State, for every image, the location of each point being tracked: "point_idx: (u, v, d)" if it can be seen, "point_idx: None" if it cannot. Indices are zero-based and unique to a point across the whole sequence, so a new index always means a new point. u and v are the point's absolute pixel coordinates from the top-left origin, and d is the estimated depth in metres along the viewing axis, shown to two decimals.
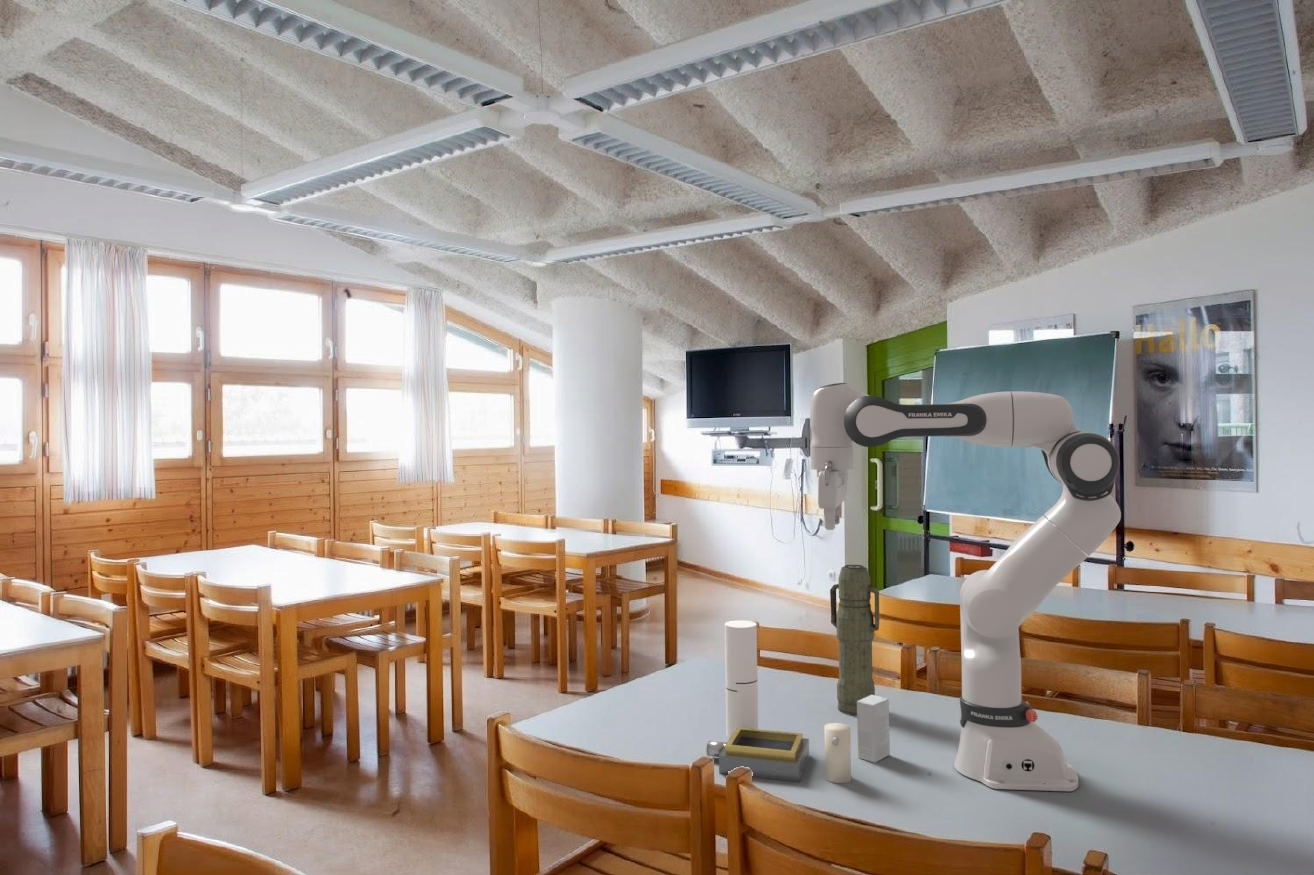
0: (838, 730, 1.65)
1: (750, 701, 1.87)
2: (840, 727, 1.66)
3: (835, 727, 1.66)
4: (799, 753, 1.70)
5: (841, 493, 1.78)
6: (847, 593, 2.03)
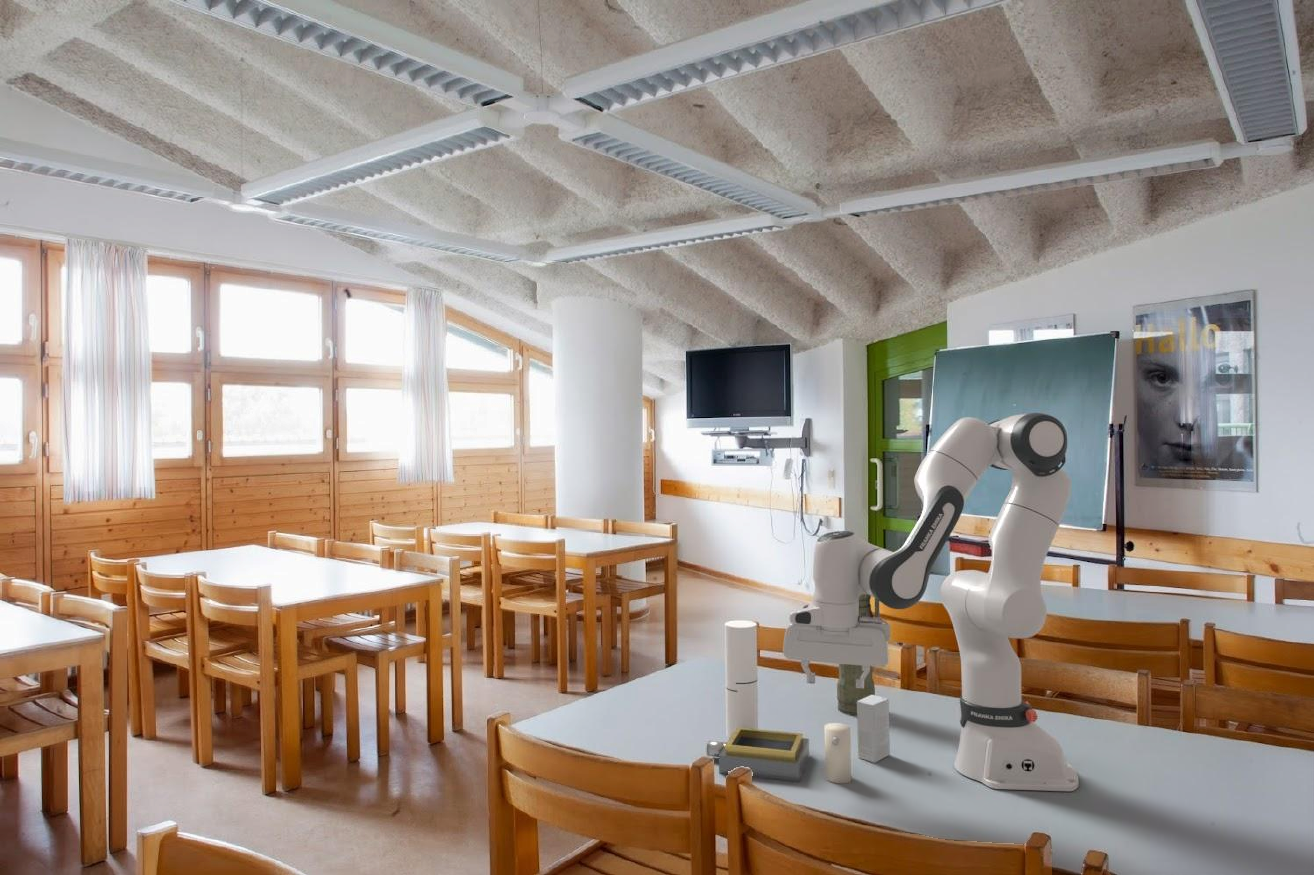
0: (838, 730, 1.65)
1: (750, 701, 1.87)
2: (840, 727, 1.66)
3: (835, 727, 1.66)
4: (799, 753, 1.70)
5: None
6: None
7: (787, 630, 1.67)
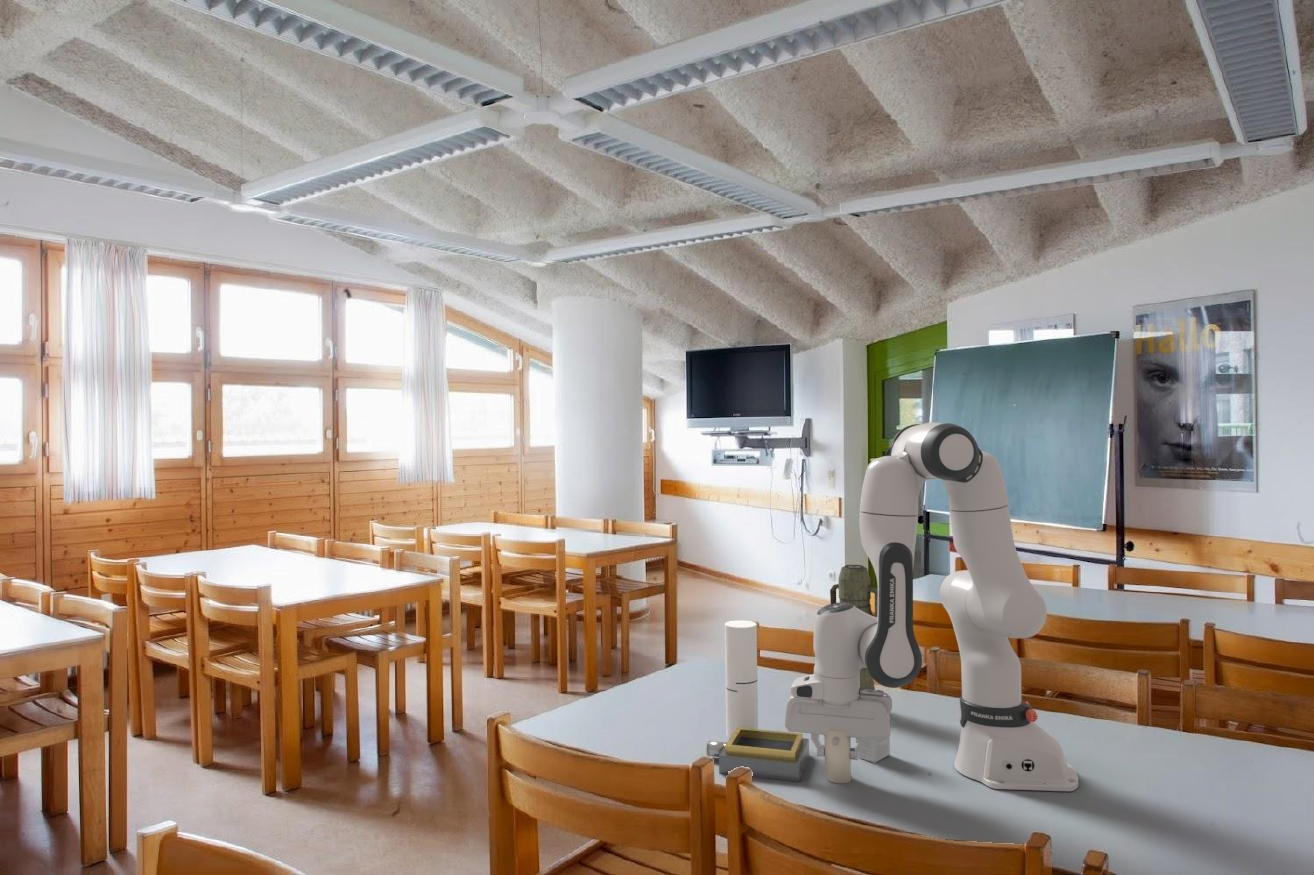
0: None
1: (750, 701, 1.87)
2: None
3: None
4: (799, 753, 1.70)
5: None
6: (847, 593, 2.03)
7: (788, 703, 1.67)
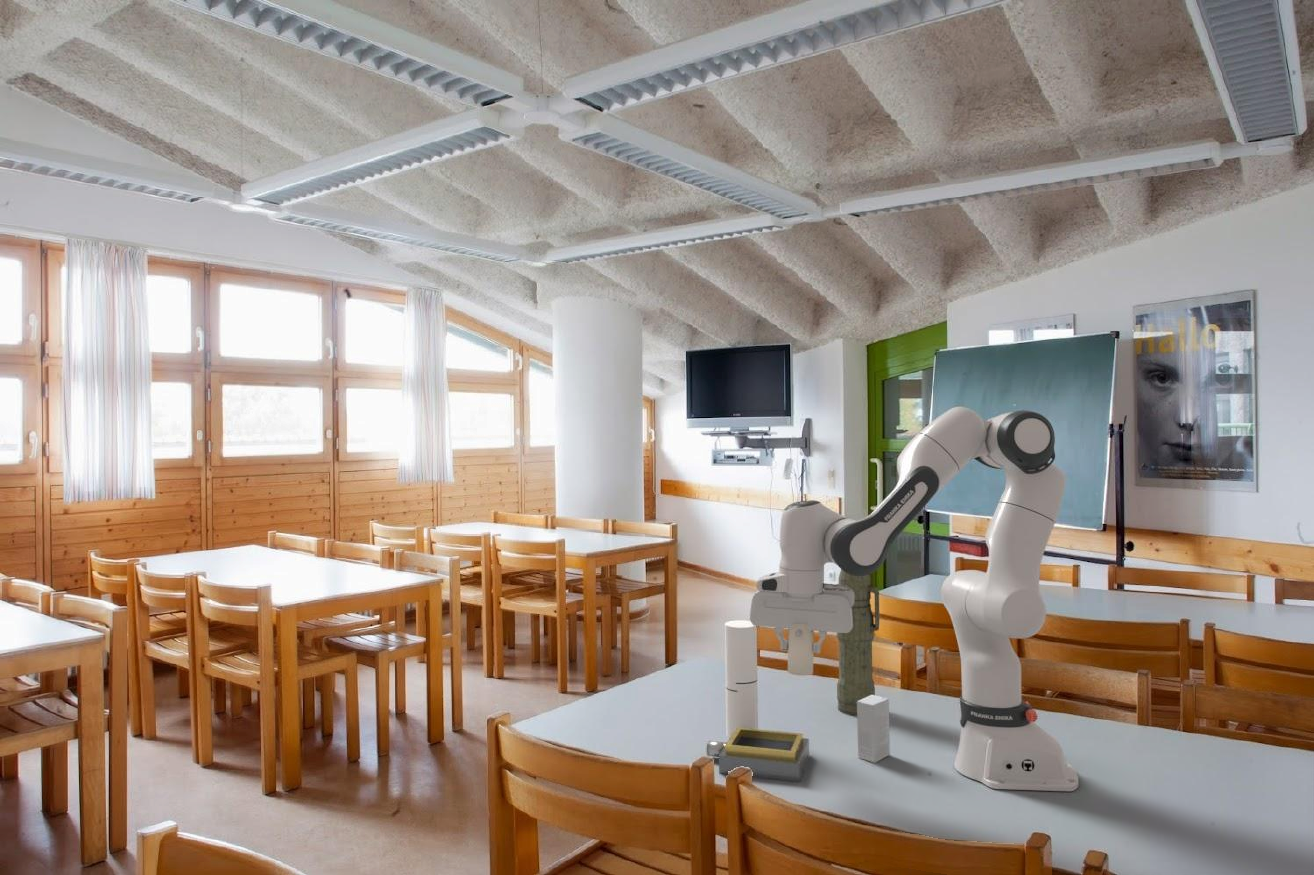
0: None
1: (750, 701, 1.87)
2: None
3: None
4: (799, 753, 1.70)
5: None
6: None
7: (754, 597, 1.70)
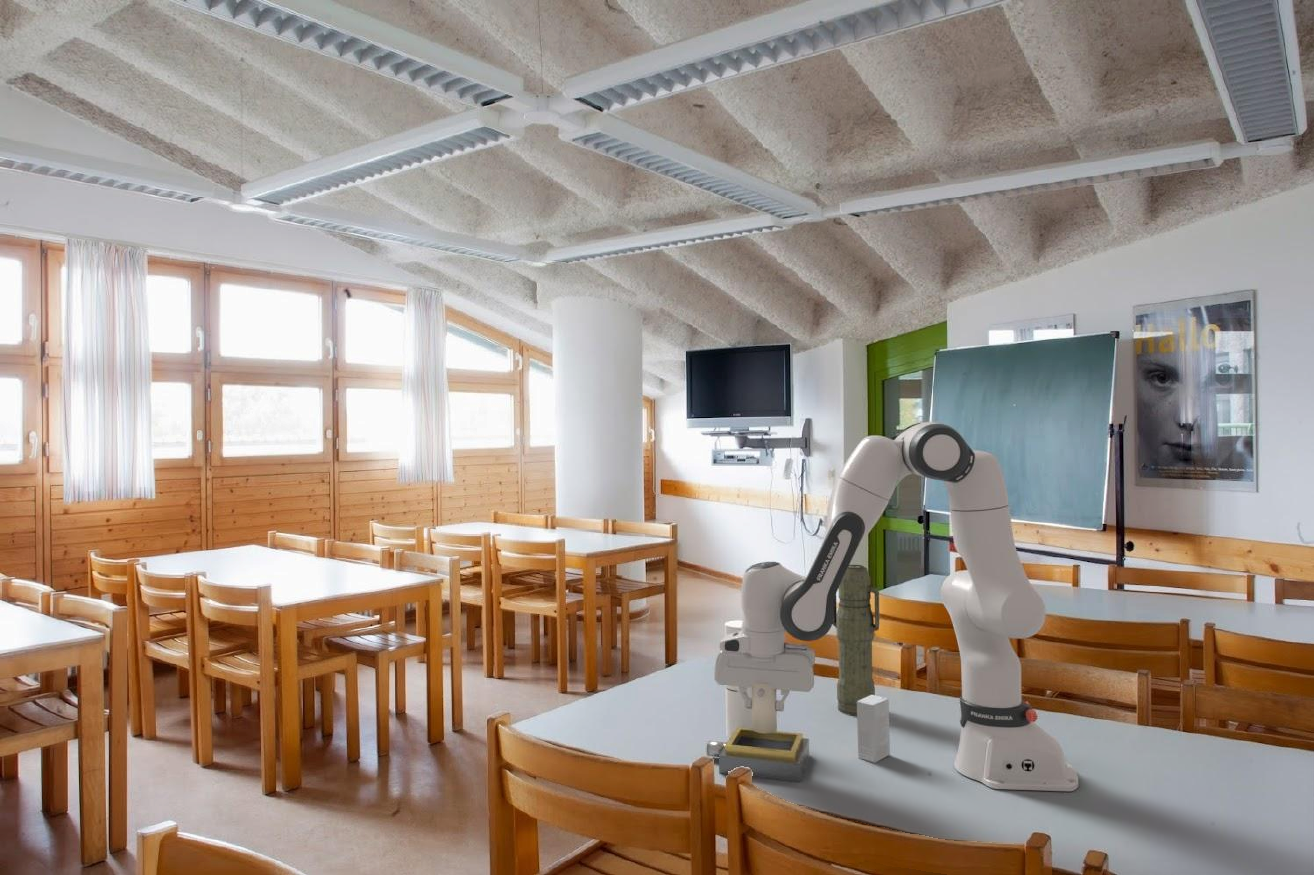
0: None
1: None
2: None
3: None
4: (799, 753, 1.70)
5: None
6: (847, 593, 2.03)
7: (717, 657, 1.74)
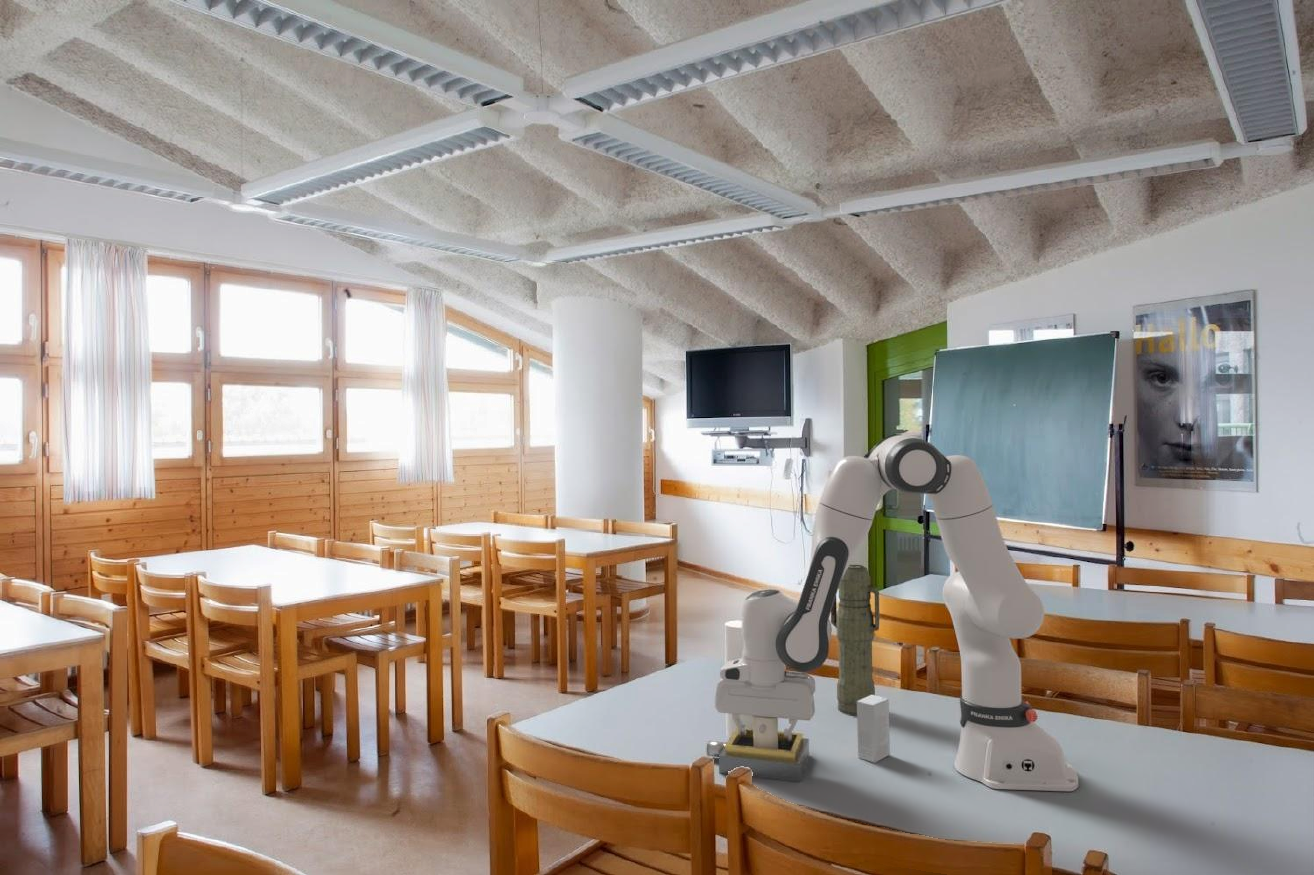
0: (765, 718, 1.72)
1: None
2: None
3: None
4: (799, 753, 1.70)
5: None
6: (847, 593, 2.03)
7: (718, 685, 1.74)
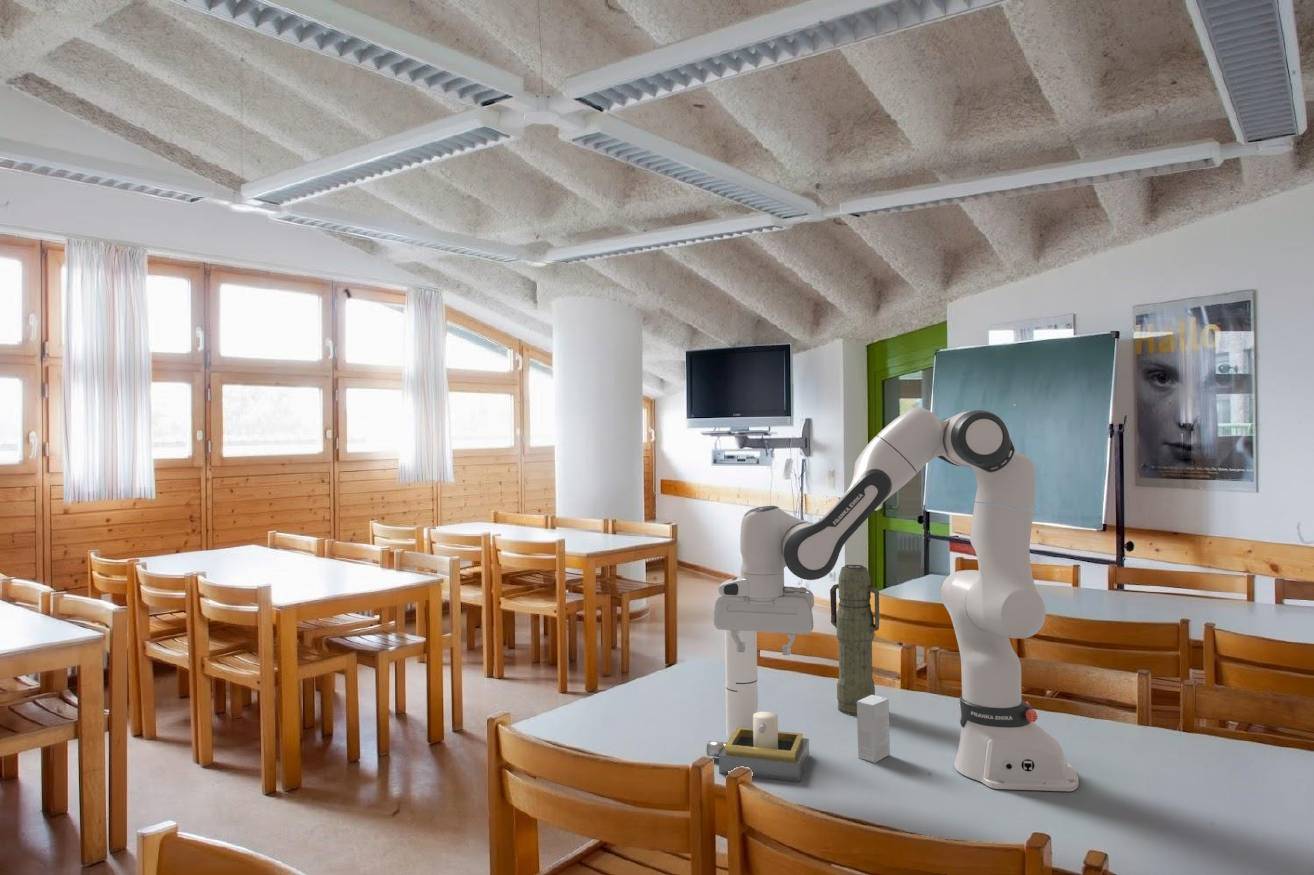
0: (765, 718, 1.72)
1: (750, 701, 1.87)
2: (768, 715, 1.74)
3: (763, 715, 1.73)
4: (799, 753, 1.70)
5: None
6: (847, 593, 2.03)
7: (717, 601, 1.74)
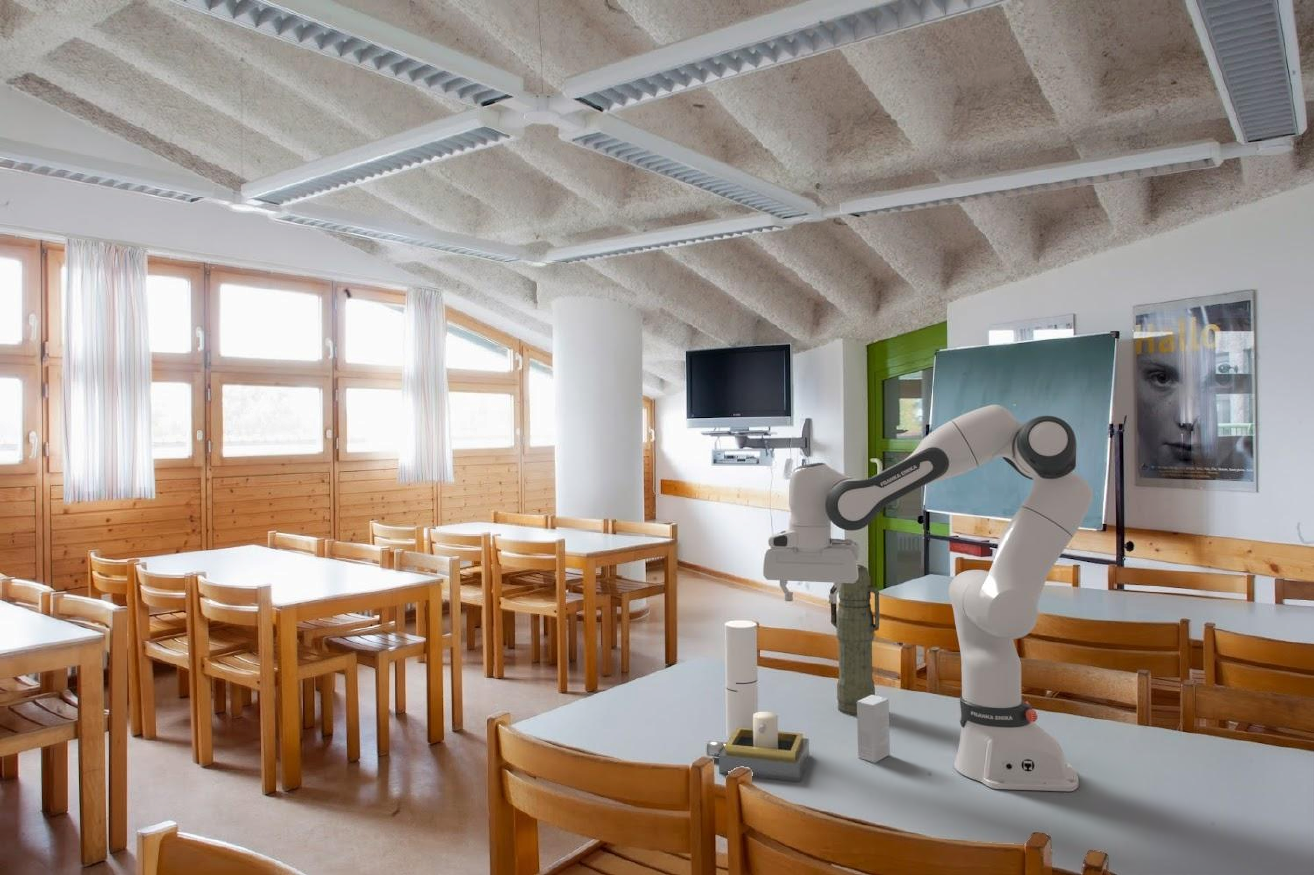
0: (765, 718, 1.72)
1: (750, 701, 1.87)
2: (768, 715, 1.74)
3: (763, 715, 1.73)
4: (799, 753, 1.70)
5: None
6: (847, 593, 2.03)
7: (766, 553, 1.84)
